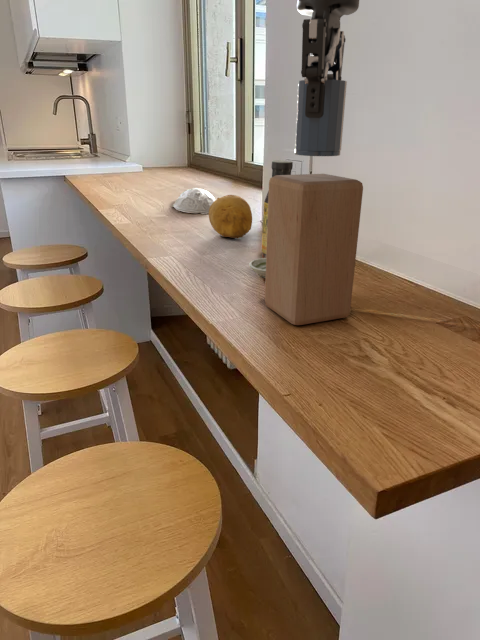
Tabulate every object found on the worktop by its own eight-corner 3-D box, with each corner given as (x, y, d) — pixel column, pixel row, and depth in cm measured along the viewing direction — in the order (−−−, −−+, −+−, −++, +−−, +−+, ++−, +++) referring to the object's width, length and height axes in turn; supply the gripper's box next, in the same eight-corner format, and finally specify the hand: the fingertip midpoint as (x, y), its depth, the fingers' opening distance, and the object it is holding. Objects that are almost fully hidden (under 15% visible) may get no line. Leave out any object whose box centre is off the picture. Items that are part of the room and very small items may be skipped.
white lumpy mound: (217, 199, 174) (215, 179, 171) (223, 216, 151) (221, 194, 148) (173, 204, 173) (170, 184, 170) (173, 221, 150) (170, 199, 147)
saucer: (286, 266, 99) (286, 254, 98) (309, 280, 90) (310, 268, 90) (241, 271, 96) (241, 259, 95) (261, 286, 87) (261, 273, 86)
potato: (223, 243, 116) (223, 200, 113) (202, 232, 127) (202, 192, 123) (261, 239, 121) (262, 197, 117) (238, 229, 131) (239, 190, 127)
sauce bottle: (256, 257, 105) (259, 159, 98) (282, 254, 107) (287, 159, 100) (269, 265, 100) (273, 162, 92) (297, 262, 102) (303, 161, 94)
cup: (343, 154, 69) (350, 82, 65) (335, 156, 63) (341, 79, 60) (301, 152, 71) (304, 83, 67) (289, 155, 65) (293, 79, 62)
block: (293, 328, 70) (302, 183, 62) (262, 305, 78) (266, 174, 71) (352, 318, 74) (367, 180, 66) (316, 297, 82) (325, 172, 74)
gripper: (352, -56, 52) (338, 118, 58) (370, -22, 64) (356, 118, 70) (283, -49, 54) (276, 117, 60) (313, -17, 66) (305, 117, 73)
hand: (319, 117), depth 65 cm, fingers closed on cup, 6 cm apart
